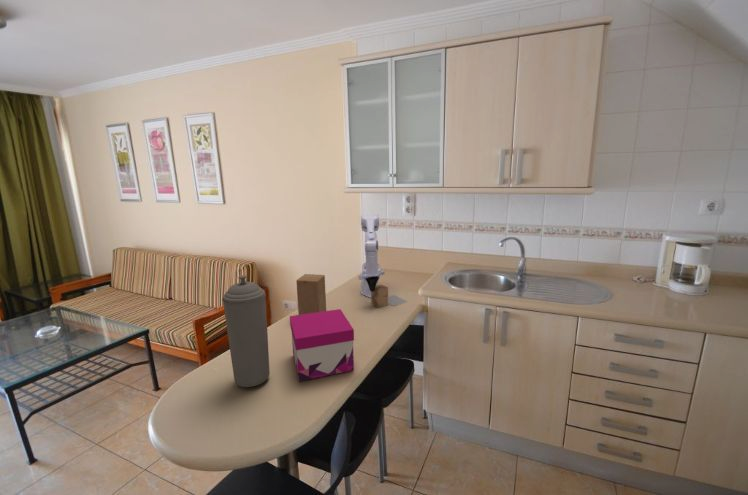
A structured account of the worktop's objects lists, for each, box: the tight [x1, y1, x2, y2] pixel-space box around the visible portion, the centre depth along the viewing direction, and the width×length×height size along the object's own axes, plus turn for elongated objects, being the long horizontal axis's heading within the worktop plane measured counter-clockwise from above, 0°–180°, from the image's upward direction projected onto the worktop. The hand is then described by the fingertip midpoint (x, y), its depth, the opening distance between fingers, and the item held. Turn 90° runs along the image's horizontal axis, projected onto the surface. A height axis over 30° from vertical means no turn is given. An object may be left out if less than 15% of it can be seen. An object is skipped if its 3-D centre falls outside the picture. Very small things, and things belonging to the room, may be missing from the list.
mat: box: [388, 294, 408, 307], centre depth 178 cm, size 12×11×1 cm
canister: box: [221, 274, 270, 388], centre depth 108 cm, size 13×13×35 cm
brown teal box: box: [370, 283, 389, 309], centre depth 172 cm, size 6×6×10 cm
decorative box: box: [289, 308, 355, 382], centre depth 119 cm, size 19×19×15 cm
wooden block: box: [296, 273, 327, 315], centre depth 156 cm, size 10×10×20 cm
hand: (372, 290), depth 168 cm, fingers closed
